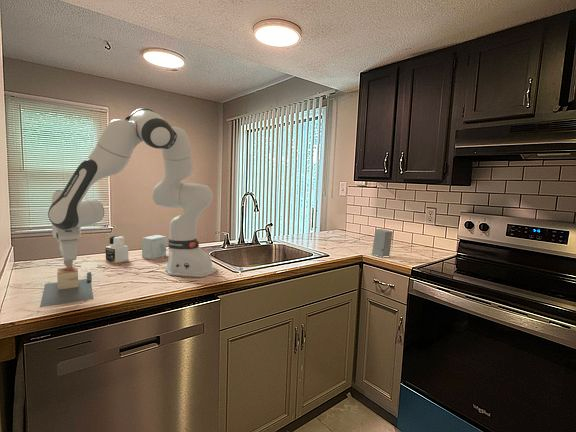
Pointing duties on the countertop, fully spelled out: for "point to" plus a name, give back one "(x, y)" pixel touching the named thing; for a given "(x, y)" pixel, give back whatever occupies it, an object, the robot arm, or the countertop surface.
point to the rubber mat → (66, 293)
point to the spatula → (89, 265)
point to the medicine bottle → (117, 250)
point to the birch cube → (67, 277)
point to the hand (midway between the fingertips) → (68, 267)
